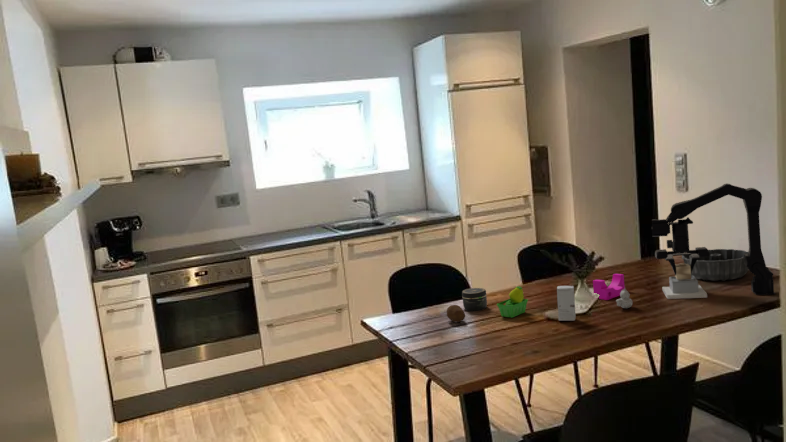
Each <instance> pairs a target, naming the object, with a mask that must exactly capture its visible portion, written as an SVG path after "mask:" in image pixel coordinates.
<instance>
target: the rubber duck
mask: <svg viewBox="0 0 786 442" xmlns="http://www.w3.org/2000/svg"><path fill="white" fill-rule="evenodd" d="M630 296H631V294H630V292H629V291H628V290H627V289H626V288H625V289H623V290H622V291H621V293H620V296H619V297H620V298H618V299H616V300H615V302H616V306H617V307H621V308H622V309H630V308H631V307H632V306H633V299H632V298H631V297H630Z"/></svg>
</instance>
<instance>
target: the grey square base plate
mask: <svg viewBox="0 0 786 442" xmlns="http://www.w3.org/2000/svg"><path fill="white" fill-rule="evenodd" d="M668 281H669V286H662V289H661V290H662V292H663V294H664V296H665V297H666V300H675V299H676V300H678V299H700V298H701V299H702V298H703V299H704V298H706V299H707V298H708V294H707V291H705V290H704V288H703V287H702V286H701V285H700V284H699V279H696V278H695V277H694V276H691V279H679V280H677V279H676V277H675V276H669V277H668Z"/></svg>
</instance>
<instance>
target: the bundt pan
mask: <svg viewBox="0 0 786 442" xmlns="http://www.w3.org/2000/svg"><path fill="white" fill-rule="evenodd" d="M708 250H709V256H706V257H700V256H699V257H700V259H697V261H696V263H695V265H694V267H693V270H692V273H691V276H694V277H695V278H696V279H697V280H703V281H705V280H706V281H712V282H718V281H723V282H725V281H726V280H728V281H731V280H736V279H741V278H742V277H744V276H745V275H746V274H747V273H748V271H749V269H748V268H747V267H746V265H745V264H744V262H745V257H744V253H745V254H748V251H746V250H743V249H733V248H730V249H729V248H728V249H726V248H722V249H721V248H714V249H708ZM681 259H682V260H683V263H685V264H689V263H690V258H689V255H681Z"/></svg>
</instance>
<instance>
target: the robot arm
mask: <svg viewBox="0 0 786 442" xmlns="http://www.w3.org/2000/svg"><path fill="white" fill-rule="evenodd" d="M726 196H732V197H735V198H738V199H741V200H742V202H743V205H744V208H745V212H746V221H747V223H746V224H747V235H748V236H747V238H748V239H747V240H748V250H747V252H748V254H745V253H744V257H745V262H744V264H745V265H746V267H747V268H748V271H749V272H750V273H751V274H753V276H752V280H750V287H751V288H750V289H751V292H752V293H754V295H756V296H760V295H761V296H762V295H764V296H765V295H768V296H769V295H776V292H775V288H774V287H775V286H774V272H772V270H771V269H770V268H768V267H767V264H766V260H765V257H764V254H763V252H762V242H761V226H760V225H761V224H760V210H761V206H762V200H763V199H762V198H763V194H762V193H761V191H760V190H758V189H756V188H755V187H748V188H744V187H741V186H737V185H732V184H730V183H724V184H722V185H721V186H718V187H716V188H714V189H711V190H710V191H708V192H705V193H703V194H701V195H699V196H697V197H694V198H691V199H687V200H682V201H678V202H676V203H674V204H672V205H671V208H670V213H669V214H668V215H667V216H666V218H665V219H664V218H663V219H651V235H652V238H653V237H655V238H656V237H657V238H658V237H668V235H669V234H671V235H672V239H666V248H667V249H671V250H667V249H666V248H665V249H664V248H663V249H656V250H655V251H654V256H655V259H657V260H665V261H666V262H667V261H668V262H669V264H670V266H671V269H672V271H673V273H674V276H675V275H676V267H675V264H676V263H675V258H674V257H675V256H676V257H677V256H678V257H679V256H682V255H689V258H690V263H689V265H690V267H691V273H692V270H693V267H694V265H695V263H696V261H697V259H700V257H706V256H709V250H710V249H708V248H707V247H706V246H702V247H699V246H697V247H695V249H690V239H689V238H690V237H689V225H693V224H694V222H693V220H691V218H690V217H689V215H691V214H692V213H693V212H694V211H696V210H697V209H699V208H701V207H704V206H706V205H708V204H711V203H712V202H715V201H716V200H719V199H721V198H724V197H726ZM699 256H700V257H699Z"/></svg>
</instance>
